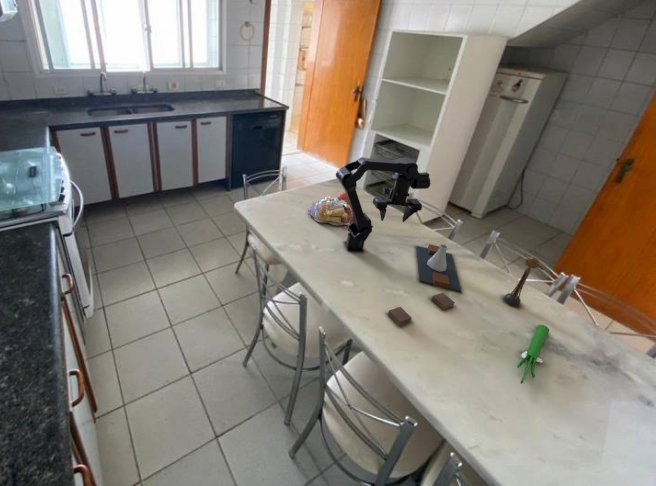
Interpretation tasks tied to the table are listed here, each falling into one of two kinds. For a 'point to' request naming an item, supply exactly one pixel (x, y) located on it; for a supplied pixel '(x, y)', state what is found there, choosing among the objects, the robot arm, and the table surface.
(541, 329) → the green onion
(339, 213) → the multicoloured lumpy mound
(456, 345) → the table surface
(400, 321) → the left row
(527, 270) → the wooden tabletop sculpture
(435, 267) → the flask
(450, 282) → the right mat
